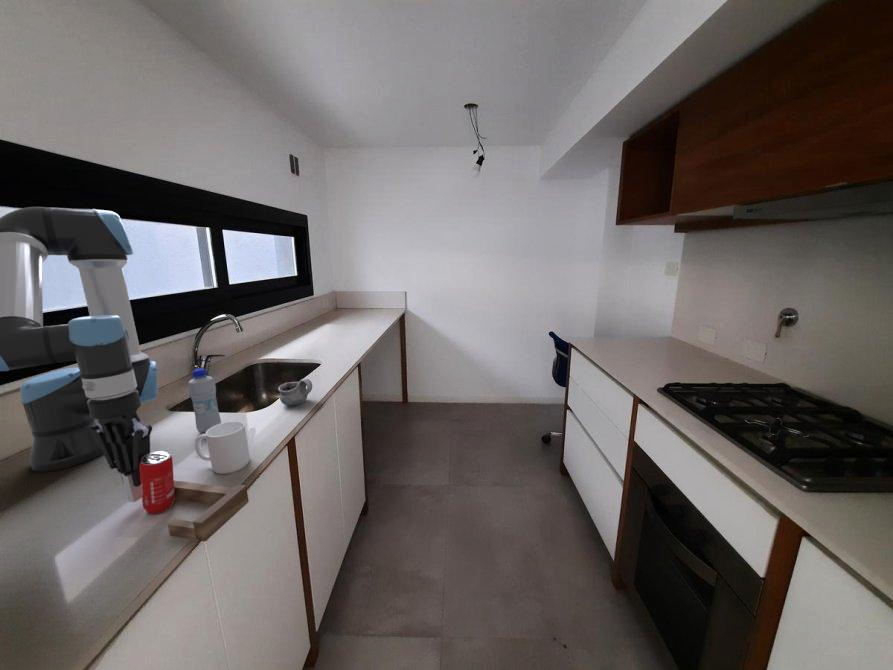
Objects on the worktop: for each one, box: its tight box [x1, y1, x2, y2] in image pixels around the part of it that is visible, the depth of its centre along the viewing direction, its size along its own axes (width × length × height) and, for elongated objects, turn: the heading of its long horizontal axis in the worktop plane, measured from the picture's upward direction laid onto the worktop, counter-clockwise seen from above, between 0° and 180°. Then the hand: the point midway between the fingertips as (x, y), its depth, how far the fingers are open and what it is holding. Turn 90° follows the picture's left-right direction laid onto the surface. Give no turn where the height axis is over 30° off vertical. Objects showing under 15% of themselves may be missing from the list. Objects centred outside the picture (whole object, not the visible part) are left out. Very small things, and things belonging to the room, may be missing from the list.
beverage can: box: [139, 450, 176, 515], centre depth 73 cm, size 5×5×12 cm
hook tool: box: [166, 480, 249, 542], centre depth 72 cm, size 20×11×4 cm, turn 79°
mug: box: [277, 377, 313, 407], centre depth 126 cm, size 10×12×10 cm
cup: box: [194, 420, 251, 475], centre depth 89 cm, size 8×12×10 cm
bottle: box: [188, 368, 222, 435], centre depth 106 cm, size 7×7×20 cm
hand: (137, 497), depth 75 cm, fingers closed
